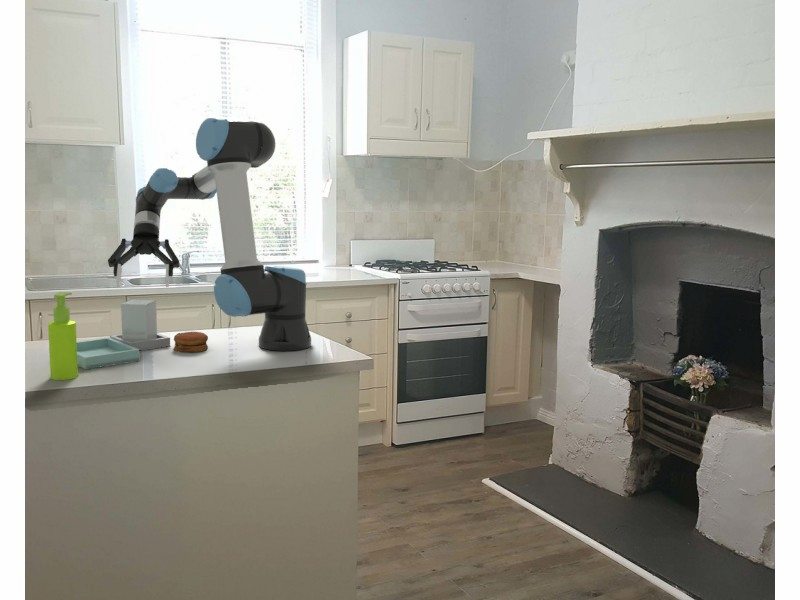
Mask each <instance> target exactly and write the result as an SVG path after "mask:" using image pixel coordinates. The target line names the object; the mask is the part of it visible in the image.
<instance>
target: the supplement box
mask: <svg viewBox="0 0 800 600" xmlns="http://www.w3.org/2000/svg"><path fill="white" fill-rule="evenodd" d="M120 312H121V313H120V314H121V334H122V339H124V340H126V341H129V342H137V341H144V340H151V339H157V333H158V323H157V319H158V318H157V315H158V314H157V300H149V299H146V300H145V299H130V300H128V301H125V302H122V303H120Z"/></svg>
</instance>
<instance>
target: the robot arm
mask: <svg viewBox="0 0 800 600" xmlns="http://www.w3.org/2000/svg"><path fill="white" fill-rule="evenodd" d="M195 149H196V154H197V155H198V157H199V158H200V159H201V160H203V161H205V162H206V163H207V164H206V165H205V167H203V168H201V169H200V170H199V171H197V172H196V173H194V174H192V175H189V174H188V175H185V174H184V175H183V174H177V173H176V172H175V171H174V170H172V169H169V168H168V167H164V166H163V167H158V168H157V169H156V170H155V171H153V173H152V175H151V176H150V177H149V179H148V182H147V184H145V185H146V186H145V185H144V186H142V188H141V187H140V188H139V189H138V191H137V193H136V197H135V210H134V211H135V213H134V222H133V236H132V240H126V238H122V239H121V241H120V244H119V245H118V247H117V248H116V249H115V251H113V253H112V254H111V256H110V257H109V258H107V263H108V267H109V268H113V275H114V277H116V278H115V279H116V280H115V283H116V287H117V288H121V282H122V281H121V280H122V272H123V271H122V269H123V268H122V266H124V265H125V264H126V263H128V262H129V261H130V260H132V258H134V257H137V255H140V256H141V255H149V256H151V255H153V256H155V257H156V258H158V260H160V261H161V262H162V263H163V264H164V265H165V281H164V282H165V287H166V288H169V283H170V278H171V277H173V276H174V269H175V268H180V259H179V258H178V257H177V254H175V252H174V250H173V248H172V247H171V245H170V240H169V239H168V238H166V239H164V240H163V241H160V228H161V227H160V226H161V224H160V223H161V211H162V208H163V207H164V205H165V204H166V203H167V201H168V200H202V201H203V200H204V201H205V200H210V199H213V198H214V197H215V195H216V197H217V206H218V214H219V222H220V223H219V224H220V229H221V238H222V246H223V255H224V261H225V262H224V264H222V267H220V275H219V276H217V277H216V279H215V280H214V285H213V294H214V299H215V301H216V304H217V305H218V308H219V309H220V310H221V311H222V312H223V313H224V314H225V315H227V316H229V317H235V318H237V317H241V318H242V317H243V318H244V317H248V316H254V315H259V314H260V315H261V314H262V315H263V314H264V321H263V324H262V326H261V331H260V335H258V347H260V348H261V349H264V350H266V351H267V350H268V351H277V352H289V351H290V352H292V351H294V352H295V351H300V350H301V351H302V350H304V349H308V348H310V347H311V346H312V336H311V333H310V330H309V327H308V326H309V325H308V323H307V319H306V307H307V305H306V304H307V303H306V299H307V279H306V278H307V276H306V272H305V271H304V270H303V269H301V268H296V267H288V266H281V265H269V264H268V265H265V267H264V263H262V262H261V261H260V260H259V259H258V256H257V254H258V253H257V248H256V237H255V233H254V222H253V216H252V207H251V197H250V191H249V189H250V188H249V184H248V173H247V172H248V171H249V169H251V168H252V169H256V168H259V167H261V166H262V165H265V164H266V163H267V162H268V161H270V160H271V158H272V157H273V155H274V153H275V150H276V138H275V136H274V133H273V131H272V130H271V129H270V127H268V126H267V125H266V124H265V123H263V122H262V121H259V120H255V119H243V118H235V117H226V116H210V117H207V118H205V119H204V120H203V121H202V123H201V124H200V125H199V128H198V130H197V132H196V137H195ZM130 246H131V247H130ZM129 247H130V248H129ZM160 247H162V248H163V249H164V250H165V251H166V253H167V255H168V256H167V255H166V254H165V253H164V252H162V250H160ZM128 248H129V249H128ZM127 249H128V250H127ZM126 250H127V251H126Z"/></svg>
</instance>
